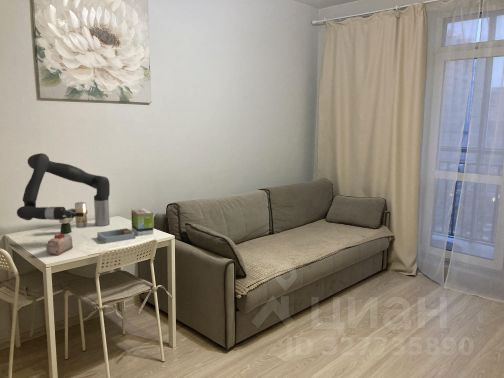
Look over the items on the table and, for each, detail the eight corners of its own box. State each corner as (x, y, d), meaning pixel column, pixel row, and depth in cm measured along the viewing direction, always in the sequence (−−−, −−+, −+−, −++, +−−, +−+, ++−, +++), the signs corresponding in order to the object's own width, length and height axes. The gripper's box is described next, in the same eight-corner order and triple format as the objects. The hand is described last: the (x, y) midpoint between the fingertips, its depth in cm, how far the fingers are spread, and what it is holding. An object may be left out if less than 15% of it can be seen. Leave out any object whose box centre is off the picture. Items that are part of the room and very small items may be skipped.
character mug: (77, 231, 262) (76, 211, 260) (70, 234, 255) (69, 214, 253) (61, 230, 264) (60, 210, 262) (54, 233, 257) (53, 213, 255)
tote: (97, 239, 247) (97, 232, 246) (126, 234, 257) (126, 228, 257) (104, 244, 236) (104, 238, 235) (135, 239, 246) (135, 233, 246)
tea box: (154, 235, 257) (153, 212, 254) (138, 237, 251) (137, 213, 249) (146, 229, 269) (146, 207, 267) (131, 231, 264) (130, 209, 262)
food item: (59, 256, 215) (58, 238, 213) (45, 255, 216) (44, 237, 215) (74, 248, 228) (73, 231, 227) (61, 247, 230) (60, 230, 228)
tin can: (74, 226, 240) (73, 202, 237) (85, 224, 243) (84, 201, 241) (77, 228, 235) (76, 204, 233) (88, 227, 239) (87, 203, 236)
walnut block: (121, 235, 251) (121, 229, 250) (127, 234, 254) (127, 228, 253) (124, 238, 246) (124, 231, 246) (131, 237, 249) (131, 230, 248)
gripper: (49, 209, 229) (80, 209, 230) (59, 204, 243) (89, 204, 244) (50, 222, 231) (81, 222, 232) (60, 216, 245) (89, 216, 246)
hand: (85, 213), depth 238 cm, fingers closed on tin can, 6 cm apart
